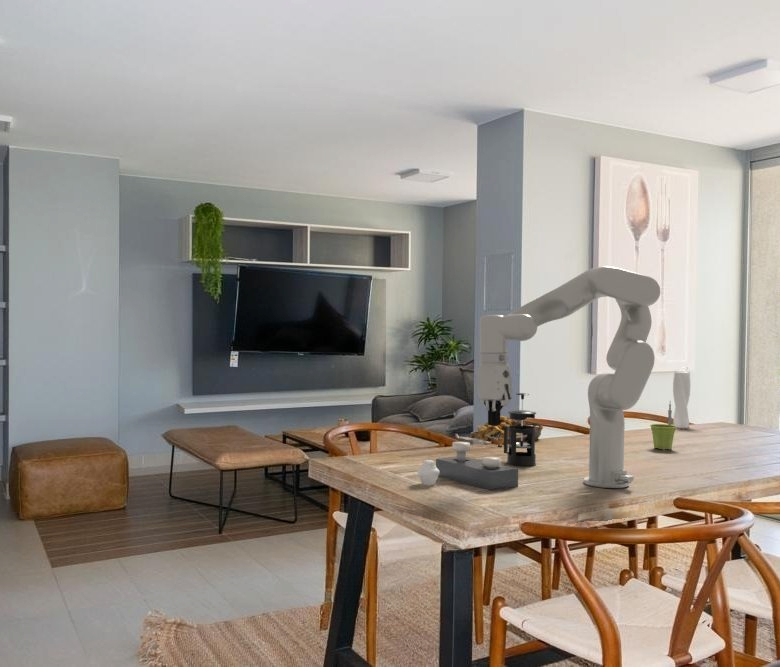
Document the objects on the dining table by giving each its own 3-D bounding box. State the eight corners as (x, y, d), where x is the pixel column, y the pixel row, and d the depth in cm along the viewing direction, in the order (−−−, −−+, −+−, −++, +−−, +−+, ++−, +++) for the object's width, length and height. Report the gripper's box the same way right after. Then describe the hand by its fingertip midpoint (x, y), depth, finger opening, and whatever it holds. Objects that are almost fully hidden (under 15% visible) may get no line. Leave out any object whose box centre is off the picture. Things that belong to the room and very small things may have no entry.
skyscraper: (676, 427, 351) (677, 366, 351) (693, 429, 345) (694, 366, 345) (666, 428, 346) (667, 366, 346) (683, 430, 340) (684, 367, 340)
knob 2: (504, 481, 214) (504, 458, 214) (490, 483, 211) (490, 460, 211) (491, 477, 219) (492, 456, 219) (477, 479, 216) (478, 457, 216)
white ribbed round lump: (412, 484, 214) (413, 459, 214) (427, 481, 219) (428, 456, 219) (429, 487, 210) (429, 462, 210) (444, 484, 214) (444, 459, 214)
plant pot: (680, 451, 282) (680, 427, 282) (654, 450, 282) (654, 427, 282) (671, 447, 291) (671, 424, 291) (646, 446, 291) (646, 423, 291)
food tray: (516, 435, 321) (517, 409, 321) (564, 443, 301) (564, 416, 301) (453, 442, 300) (454, 414, 300) (500, 451, 280) (500, 421, 280)
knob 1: (473, 464, 225) (474, 443, 225) (459, 466, 222) (460, 444, 222) (462, 462, 229) (462, 441, 229) (448, 463, 226) (448, 442, 226)
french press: (543, 464, 248) (544, 393, 248) (526, 468, 242) (528, 395, 241) (513, 460, 257) (514, 391, 256) (496, 463, 250) (497, 392, 250)
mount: (518, 486, 213) (518, 468, 213) (491, 490, 208) (491, 472, 208) (461, 472, 233) (461, 455, 233) (435, 475, 227) (435, 458, 227)
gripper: (522, 359, 211) (523, 426, 211) (485, 358, 223) (486, 421, 223) (502, 360, 206) (502, 429, 207) (465, 358, 219) (466, 423, 219)
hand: (494, 424), depth 215 cm, fingers closed
